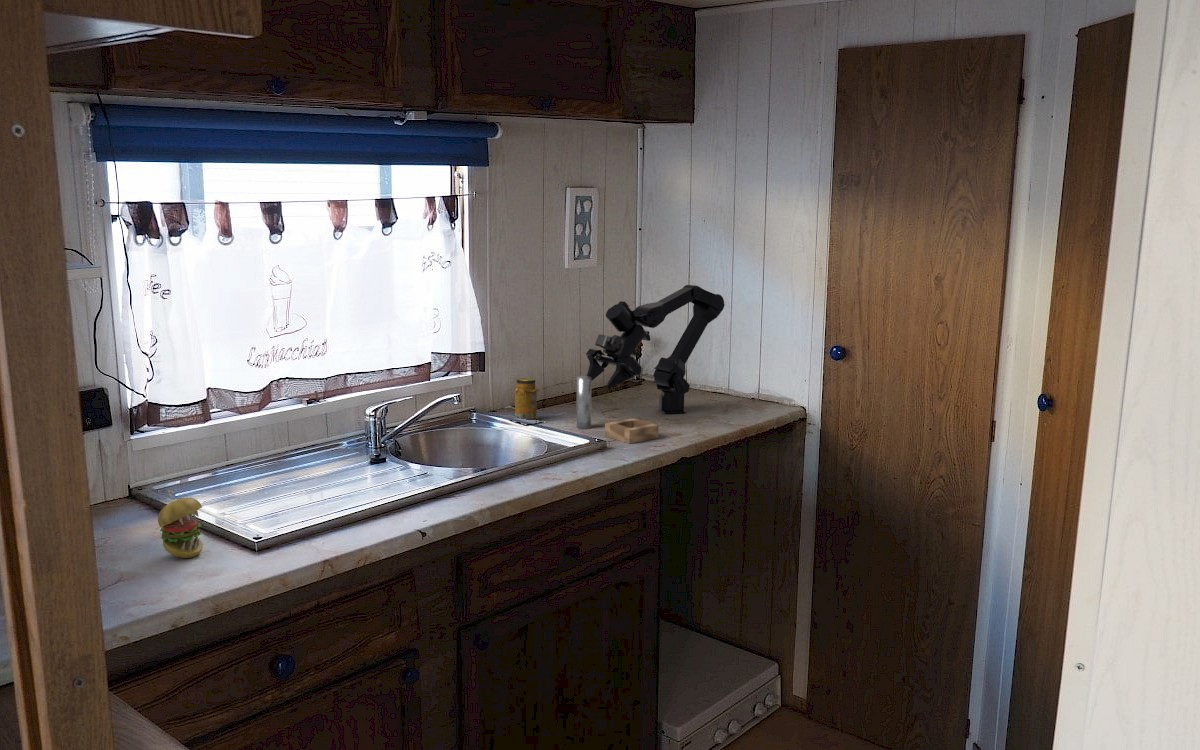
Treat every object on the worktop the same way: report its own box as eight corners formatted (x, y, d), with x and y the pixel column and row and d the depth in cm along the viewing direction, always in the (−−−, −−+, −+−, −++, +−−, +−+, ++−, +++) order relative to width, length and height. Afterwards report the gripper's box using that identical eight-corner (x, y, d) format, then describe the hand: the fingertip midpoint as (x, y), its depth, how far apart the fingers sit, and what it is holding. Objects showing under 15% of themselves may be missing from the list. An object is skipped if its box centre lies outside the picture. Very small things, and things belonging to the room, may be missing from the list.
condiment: (529, 417, 293) (528, 376, 291) (546, 422, 286) (546, 380, 284) (507, 420, 288) (507, 378, 286) (525, 426, 282) (525, 383, 280)
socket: (633, 430, 278) (633, 418, 277) (658, 438, 270) (658, 425, 270) (604, 436, 272) (605, 423, 271) (629, 443, 264) (629, 430, 264)
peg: (589, 425, 283) (589, 375, 281) (592, 428, 280) (593, 378, 277) (575, 426, 283) (575, 376, 280) (578, 429, 279) (578, 379, 276)
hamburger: (188, 564, 179) (184, 498, 176) (151, 561, 180) (146, 495, 178) (213, 549, 186) (209, 485, 184) (177, 546, 187) (172, 483, 185)
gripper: (591, 320, 289) (559, 362, 284) (634, 327, 275) (602, 372, 270) (612, 345, 295) (581, 386, 291) (655, 354, 281) (624, 398, 276)
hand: (596, 385), depth 282 cm, fingers open, 9 cm apart
